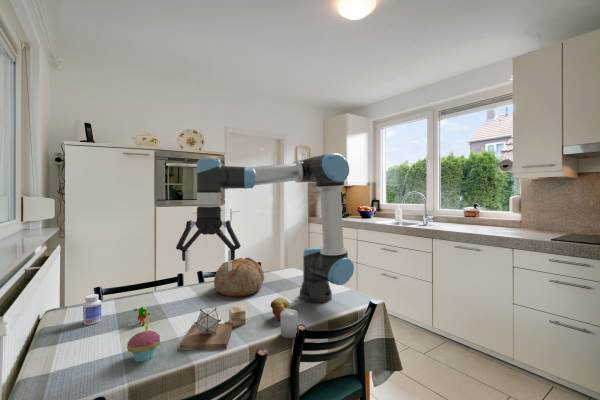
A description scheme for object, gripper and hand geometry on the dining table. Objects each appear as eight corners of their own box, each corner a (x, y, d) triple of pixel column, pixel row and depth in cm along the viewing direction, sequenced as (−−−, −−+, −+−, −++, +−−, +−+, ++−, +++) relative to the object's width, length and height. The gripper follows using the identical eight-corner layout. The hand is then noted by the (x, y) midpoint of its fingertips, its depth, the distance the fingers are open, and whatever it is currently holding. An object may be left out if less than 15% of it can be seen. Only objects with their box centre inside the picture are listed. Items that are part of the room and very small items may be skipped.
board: (232, 327, 102) (232, 323, 102) (226, 348, 89) (226, 343, 89) (192, 328, 101) (192, 324, 101) (179, 350, 87) (179, 345, 87)
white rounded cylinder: (291, 326, 103) (291, 307, 102) (301, 333, 98) (301, 314, 97) (277, 332, 99) (277, 313, 98) (287, 340, 94) (287, 319, 94)
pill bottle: (104, 320, 107) (104, 294, 107) (90, 326, 102) (89, 299, 102) (94, 317, 109) (94, 292, 109) (79, 323, 104) (79, 297, 104)
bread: (229, 279, 159) (229, 252, 159) (270, 282, 155) (270, 254, 155) (206, 296, 133) (206, 264, 133) (253, 300, 129) (254, 267, 129)
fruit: (275, 325, 105) (275, 303, 104) (266, 316, 112) (267, 296, 112) (293, 321, 108) (293, 300, 108) (284, 312, 115) (284, 293, 115)
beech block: (242, 318, 110) (242, 305, 110) (245, 324, 105) (245, 310, 105) (229, 321, 108) (229, 307, 108) (231, 326, 103) (231, 313, 103)
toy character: (139, 335, 97) (139, 315, 97) (119, 326, 103) (119, 308, 103) (168, 322, 107) (168, 304, 107) (148, 315, 113) (148, 298, 112)
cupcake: (136, 349, 87) (136, 310, 87) (165, 348, 88) (165, 310, 88) (121, 366, 79) (121, 323, 79) (153, 365, 79) (153, 322, 79)
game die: (210, 347, 93) (209, 331, 87) (189, 334, 95) (186, 318, 89) (227, 324, 100) (227, 308, 94) (207, 313, 102) (205, 296, 96)
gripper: (248, 205, 99) (248, 266, 99) (173, 205, 96) (173, 268, 97) (246, 206, 91) (246, 272, 92) (165, 206, 89) (165, 274, 90)
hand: (208, 270), depth 94 cm, fingers open, 13 cm apart
